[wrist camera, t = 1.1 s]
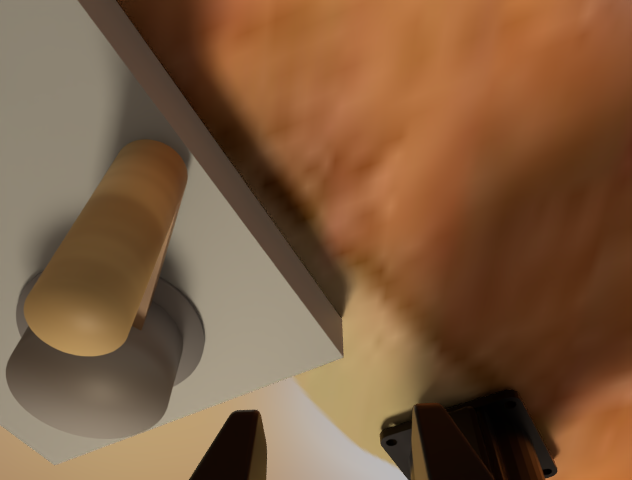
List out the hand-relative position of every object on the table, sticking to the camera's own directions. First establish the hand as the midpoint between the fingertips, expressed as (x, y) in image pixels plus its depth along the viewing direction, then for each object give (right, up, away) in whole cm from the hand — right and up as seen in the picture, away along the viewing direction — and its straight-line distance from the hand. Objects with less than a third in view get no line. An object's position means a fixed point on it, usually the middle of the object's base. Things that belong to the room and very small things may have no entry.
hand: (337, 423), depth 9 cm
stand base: (-9, +3, +12) cm, 15 cm away
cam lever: (-6, +1, +10) cm, 12 cm away
